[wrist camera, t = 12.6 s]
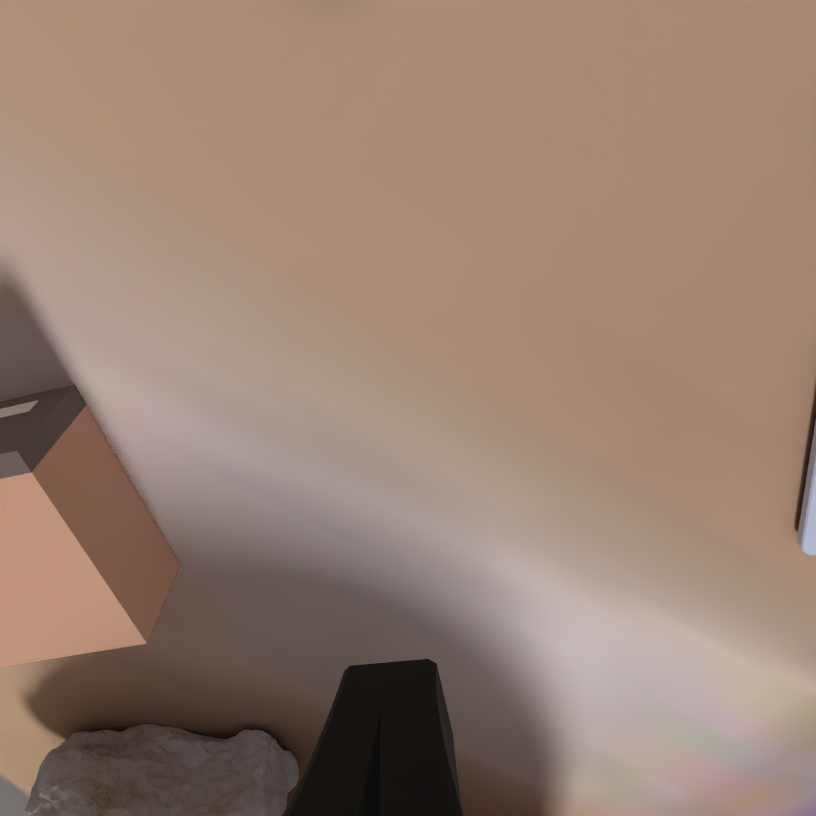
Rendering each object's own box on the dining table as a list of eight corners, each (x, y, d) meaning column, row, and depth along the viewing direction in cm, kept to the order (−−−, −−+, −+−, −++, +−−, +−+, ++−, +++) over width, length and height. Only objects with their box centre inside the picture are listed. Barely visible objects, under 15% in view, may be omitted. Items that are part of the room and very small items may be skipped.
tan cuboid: (-164, 489, 18) (-8, 668, 22) (16, 450, 17) (146, 643, 21) (-82, 419, 21) (43, 588, 25) (76, 383, 20) (181, 563, 24)
